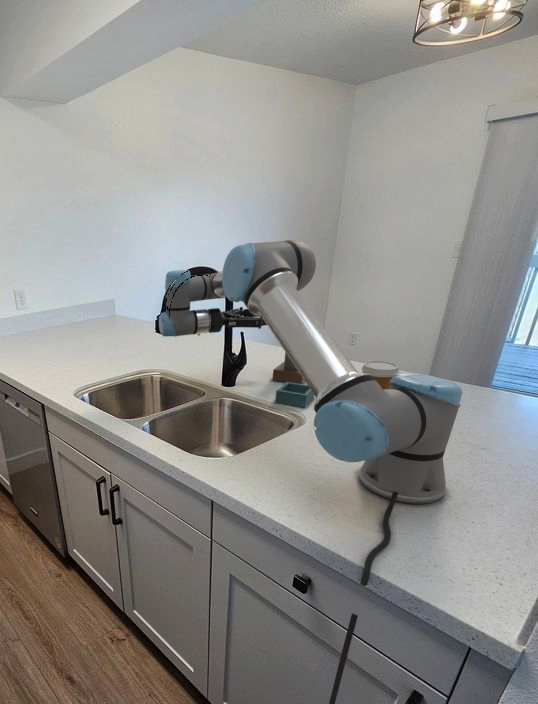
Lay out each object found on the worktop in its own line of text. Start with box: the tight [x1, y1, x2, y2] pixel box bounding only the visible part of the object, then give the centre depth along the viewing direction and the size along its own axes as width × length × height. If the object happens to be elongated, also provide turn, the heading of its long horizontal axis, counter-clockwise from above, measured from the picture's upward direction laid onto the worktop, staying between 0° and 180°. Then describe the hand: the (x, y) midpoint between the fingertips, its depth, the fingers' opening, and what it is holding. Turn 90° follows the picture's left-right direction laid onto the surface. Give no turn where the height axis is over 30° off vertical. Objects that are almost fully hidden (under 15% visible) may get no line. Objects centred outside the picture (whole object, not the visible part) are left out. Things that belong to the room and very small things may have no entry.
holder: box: [274, 382, 315, 409], centre depth 133 cm, size 9×9×4 cm
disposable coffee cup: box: [361, 360, 400, 390], centre depth 126 cm, size 10×10×12 cm
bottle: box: [283, 351, 297, 370], centre depth 147 cm, size 6×6×15 cm
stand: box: [271, 361, 306, 384], centre depth 151 cm, size 10×10×4 cm
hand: (270, 315), depth 141 cm, fingers open, 13 cm apart
